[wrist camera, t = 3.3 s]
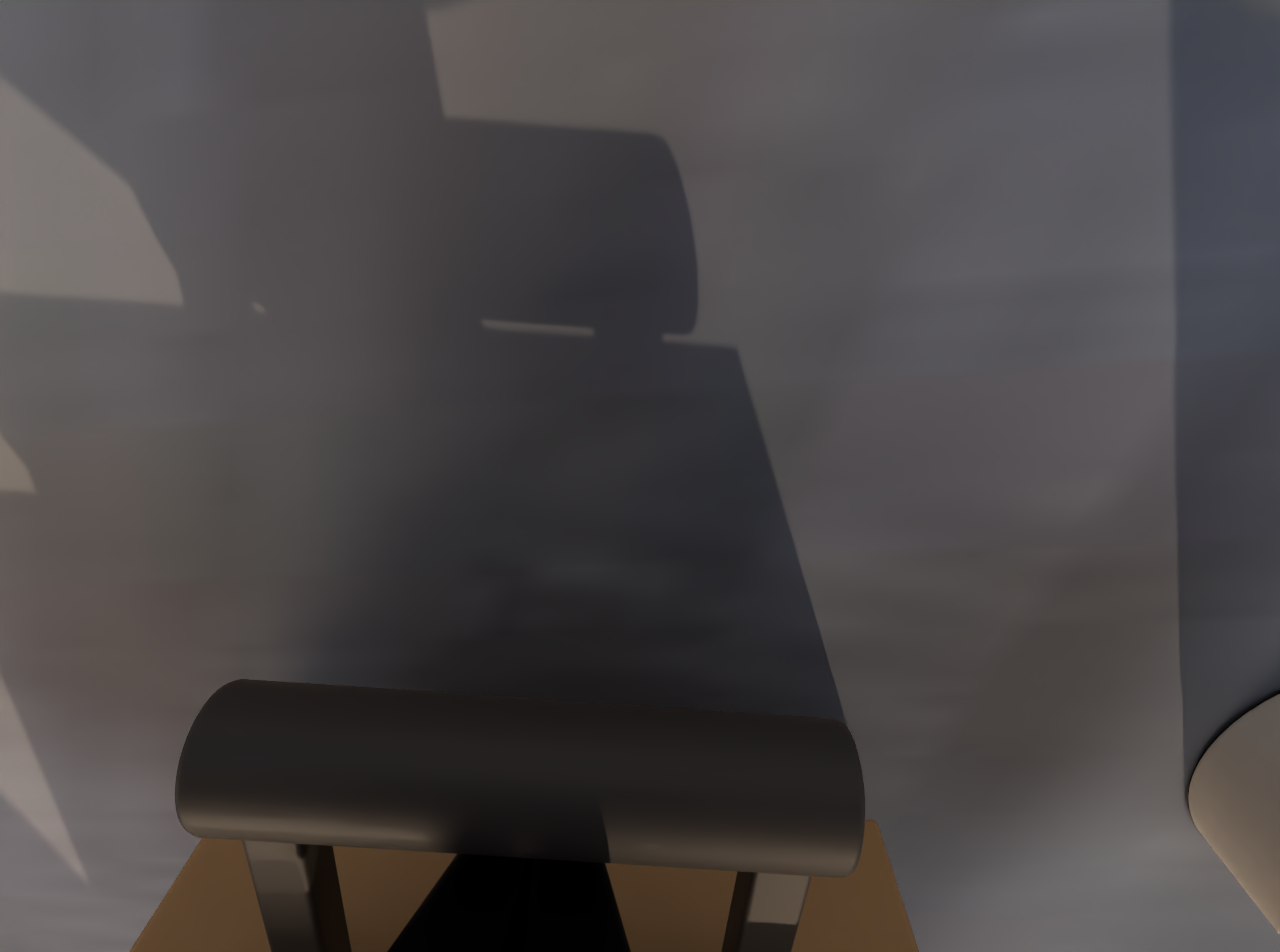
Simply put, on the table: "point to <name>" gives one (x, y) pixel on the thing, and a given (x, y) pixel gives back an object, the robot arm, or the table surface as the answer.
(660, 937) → the drawer
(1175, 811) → the table surface
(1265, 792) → the glue bottle
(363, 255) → the table surface
